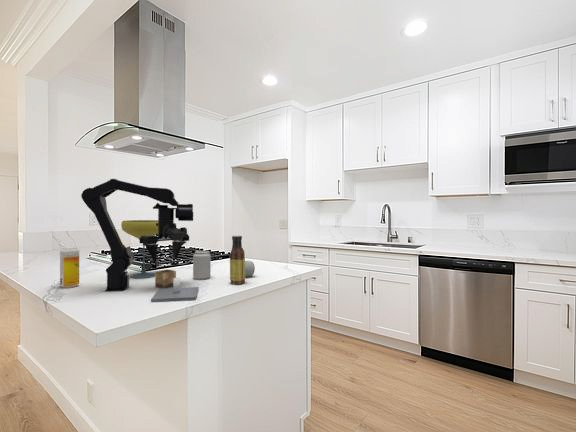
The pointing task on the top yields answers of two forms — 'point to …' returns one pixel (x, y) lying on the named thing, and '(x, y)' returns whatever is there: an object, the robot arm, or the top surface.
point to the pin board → (175, 293)
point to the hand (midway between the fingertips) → (165, 260)
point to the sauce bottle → (237, 261)
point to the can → (201, 265)
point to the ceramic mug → (249, 268)
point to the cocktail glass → (138, 230)
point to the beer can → (69, 267)
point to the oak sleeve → (164, 278)
